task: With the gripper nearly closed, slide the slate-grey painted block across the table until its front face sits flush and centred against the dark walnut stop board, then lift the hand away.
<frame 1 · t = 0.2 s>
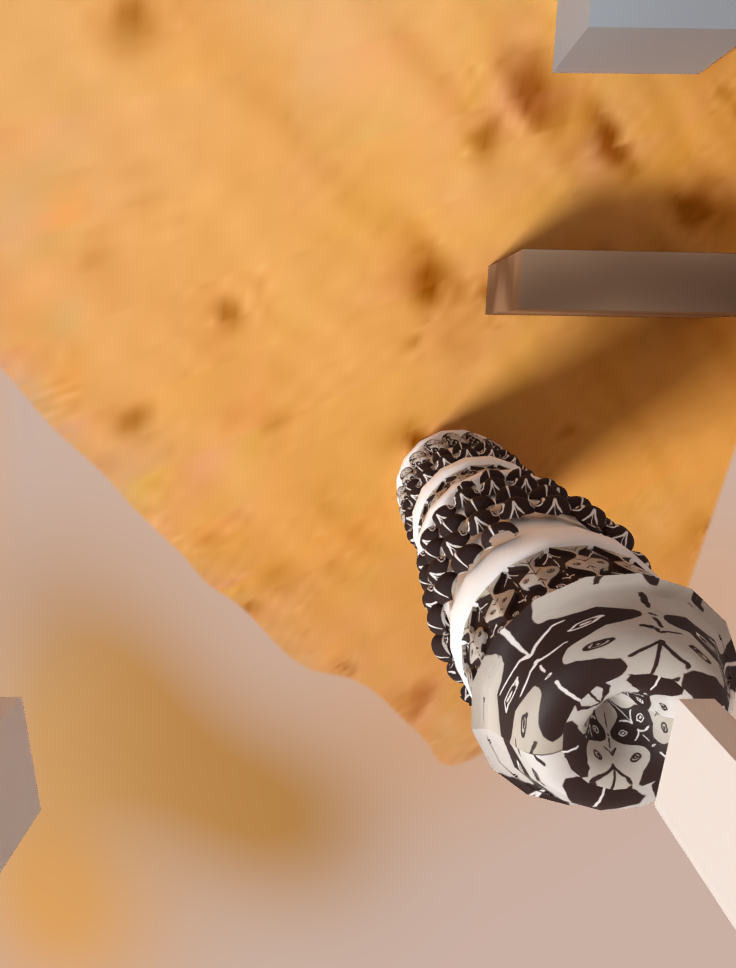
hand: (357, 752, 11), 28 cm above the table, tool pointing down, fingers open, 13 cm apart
slate block: (630, 15, 31), on the table
stop board: (598, 292, 35), on the table
decorative candle: (452, 485, 39), on the table
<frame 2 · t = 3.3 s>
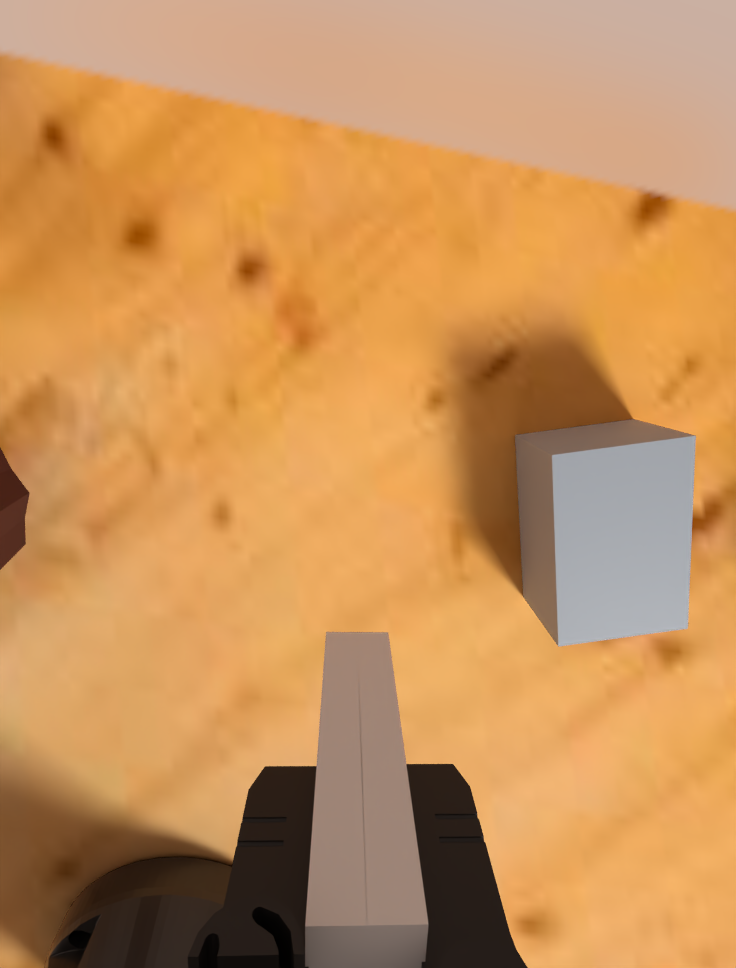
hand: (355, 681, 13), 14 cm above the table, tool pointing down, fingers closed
slate block: (574, 510, 28), on the table
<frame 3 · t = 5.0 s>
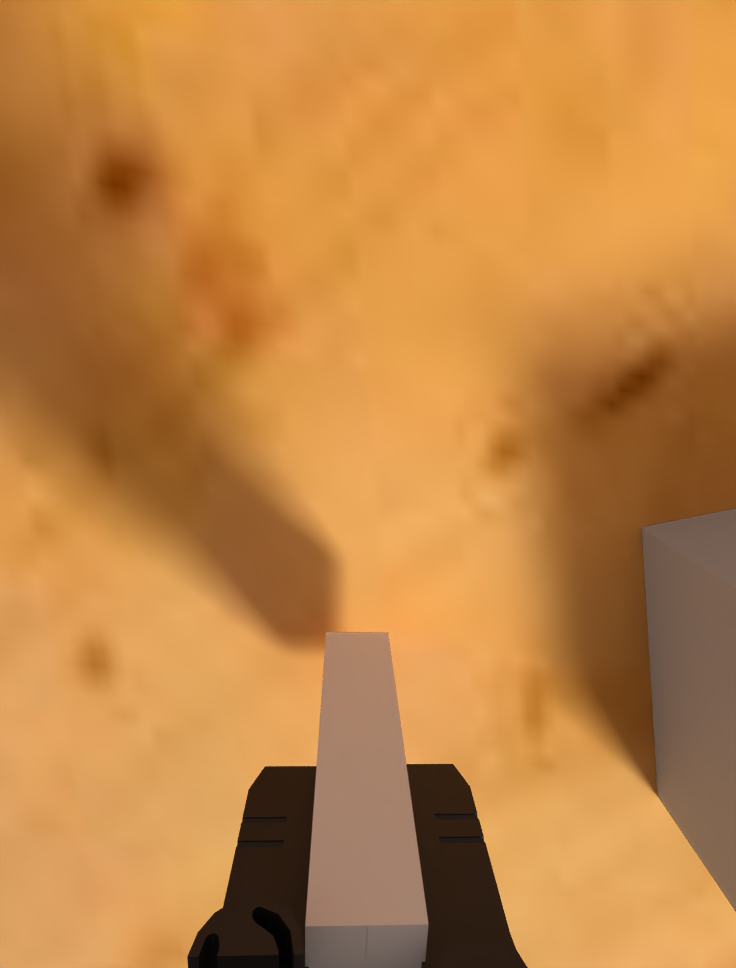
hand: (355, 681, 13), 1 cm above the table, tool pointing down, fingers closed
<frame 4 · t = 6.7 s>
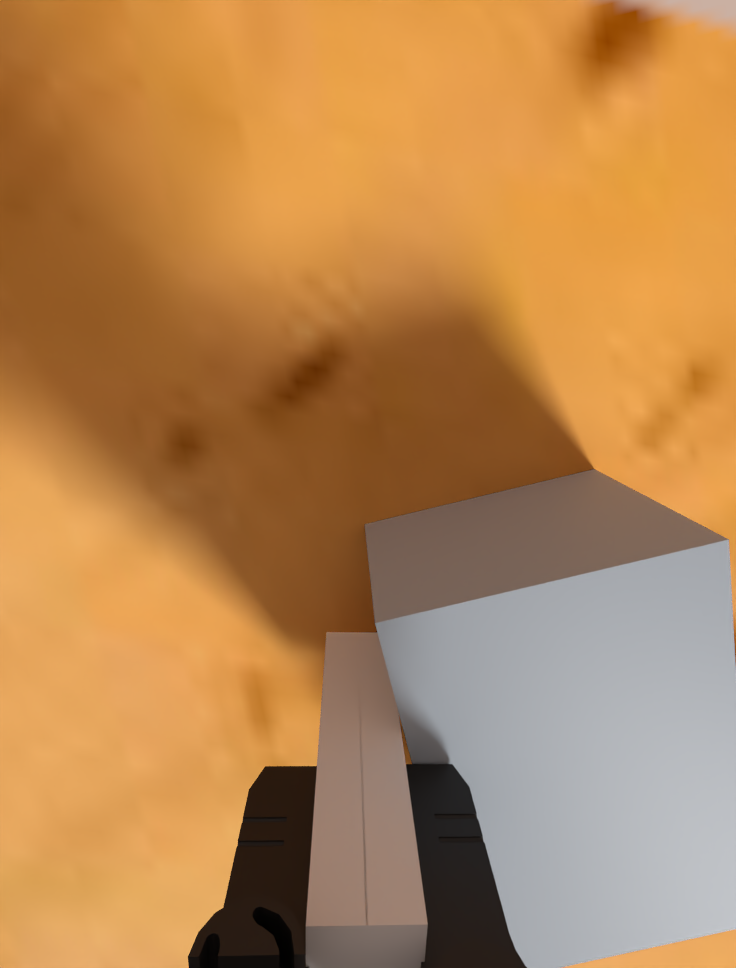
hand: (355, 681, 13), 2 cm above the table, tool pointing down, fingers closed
slate block: (505, 644, 15), on the table
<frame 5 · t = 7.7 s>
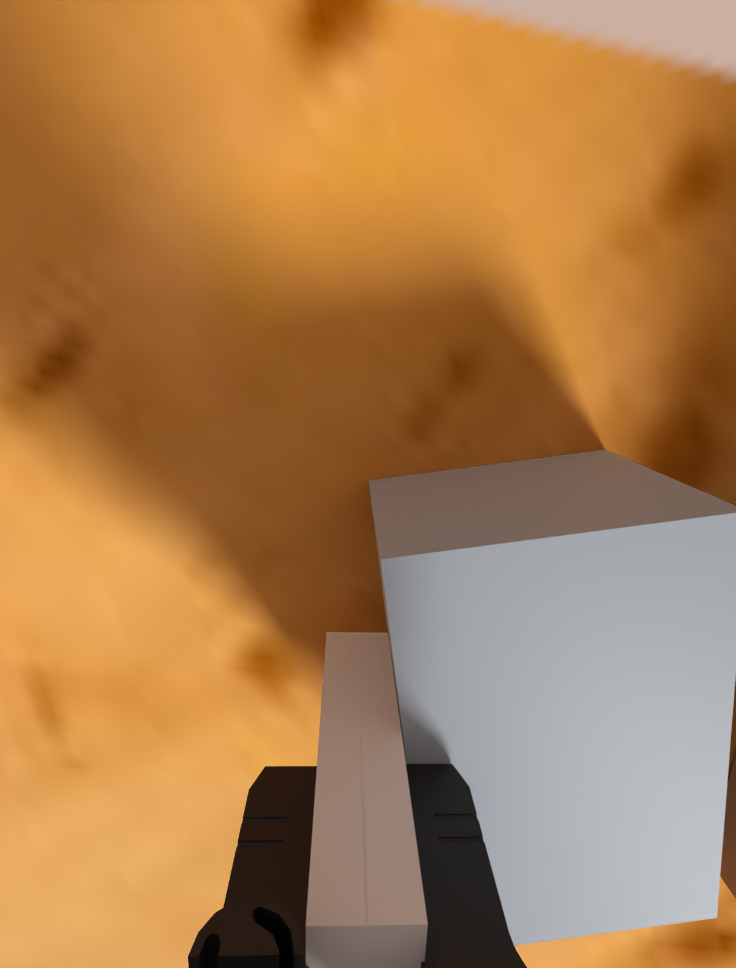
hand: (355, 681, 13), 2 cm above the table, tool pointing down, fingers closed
slate block: (495, 621, 15), on the table, touching gripper
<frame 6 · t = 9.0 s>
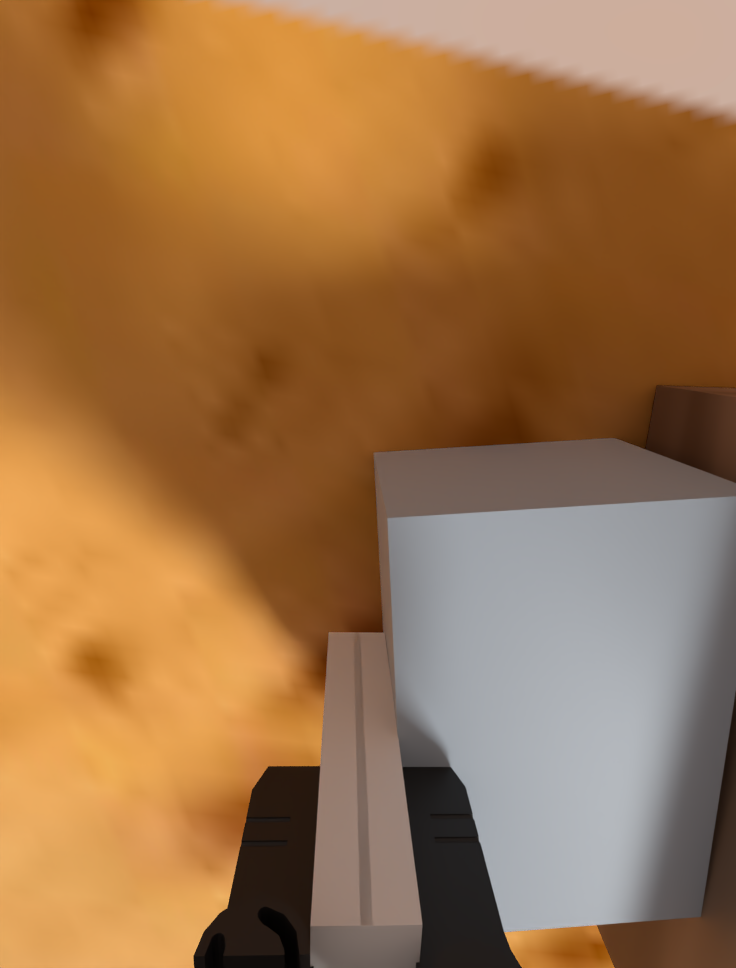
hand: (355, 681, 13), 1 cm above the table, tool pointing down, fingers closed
slate block: (492, 607, 14), on the table, touching gripper, stop board
stop board: (660, 657, 15), on the table
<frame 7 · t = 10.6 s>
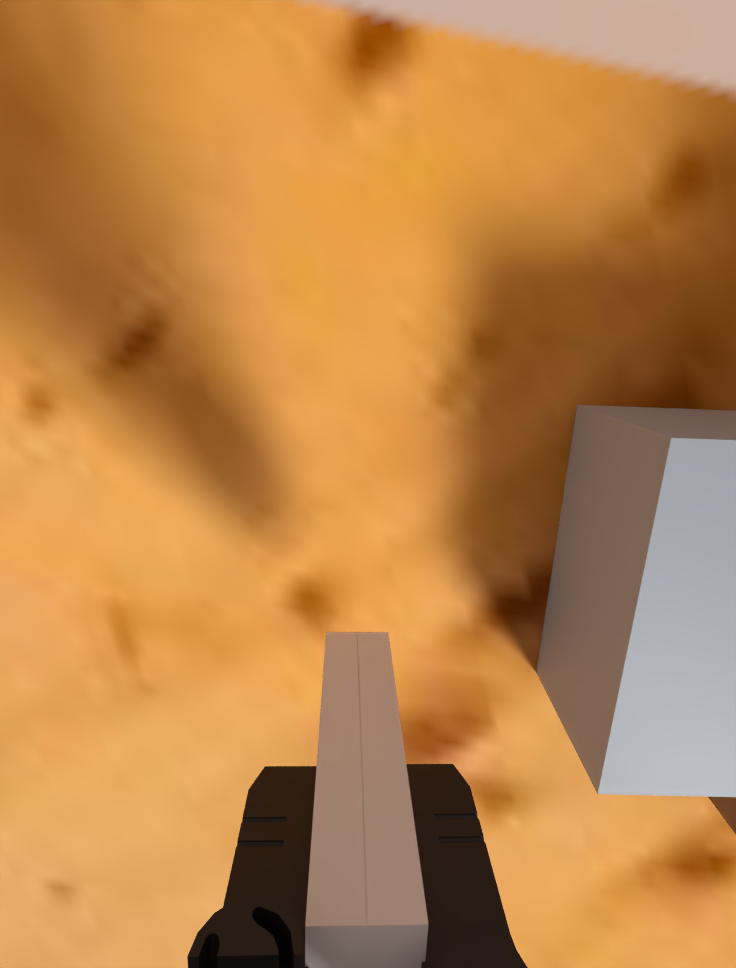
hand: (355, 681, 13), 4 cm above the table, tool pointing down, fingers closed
slate block: (646, 549, 17), on the table
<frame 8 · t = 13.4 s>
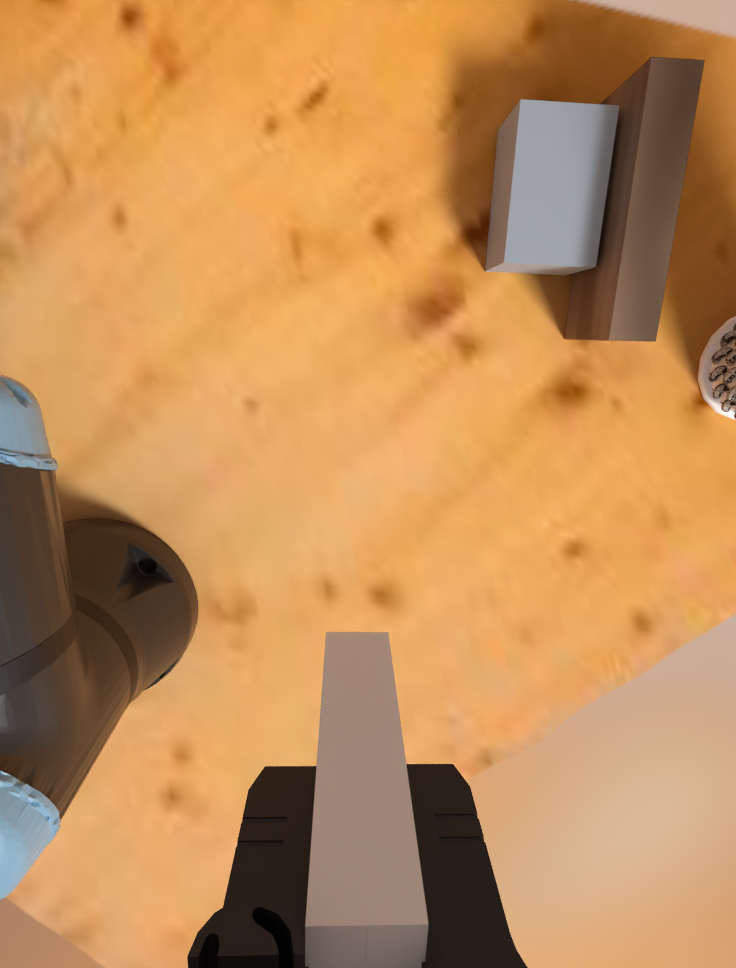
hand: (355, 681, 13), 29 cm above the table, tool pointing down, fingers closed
slate block: (532, 205, 37), on the table
stop board: (598, 231, 38), on the table
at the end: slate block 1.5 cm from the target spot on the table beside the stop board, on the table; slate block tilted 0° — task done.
